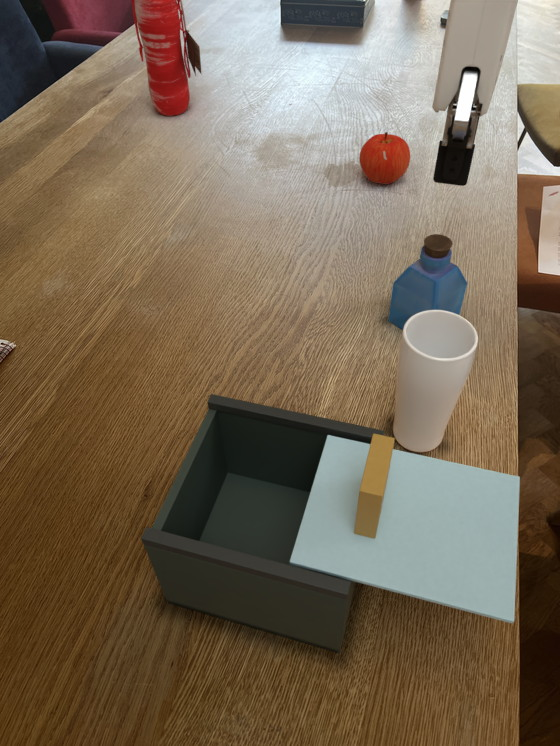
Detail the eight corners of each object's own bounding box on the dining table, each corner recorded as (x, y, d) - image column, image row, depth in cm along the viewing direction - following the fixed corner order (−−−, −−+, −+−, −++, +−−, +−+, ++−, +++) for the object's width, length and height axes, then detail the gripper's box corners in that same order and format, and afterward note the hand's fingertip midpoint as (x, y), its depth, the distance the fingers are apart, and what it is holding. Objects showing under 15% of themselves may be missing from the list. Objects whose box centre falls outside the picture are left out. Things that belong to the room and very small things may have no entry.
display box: (372, 504, 60) (384, 430, 51) (340, 653, 51) (347, 594, 42) (223, 468, 63) (210, 393, 55) (167, 603, 54) (140, 538, 45)
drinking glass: (379, 451, 64) (395, 351, 53) (392, 404, 69) (409, 302, 58) (444, 467, 63) (474, 368, 52) (453, 418, 67) (483, 316, 56)
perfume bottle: (426, 345, 75) (443, 266, 66) (388, 320, 78) (398, 242, 69) (457, 321, 77) (477, 242, 69) (419, 298, 81) (433, 220, 72)
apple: (405, 193, 98) (412, 145, 92) (355, 189, 99) (358, 142, 93) (408, 168, 103) (415, 121, 97) (360, 164, 104) (364, 118, 99)
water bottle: (214, 102, 123) (198, -45, 104) (205, 120, 117) (187, -32, 99) (155, 100, 124) (130, -46, 105) (144, 118, 119) (115, -32, 100)
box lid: (518, 479, 49) (541, 430, 44) (512, 624, 41) (540, 583, 36) (327, 437, 52) (329, 387, 47) (289, 564, 44) (287, 520, 40)
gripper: (456, -73, 55) (427, 120, 68) (433, -14, 44) (403, 204, 57) (544, -70, 53) (496, 128, 67) (542, -8, 42) (486, 215, 55)
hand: (453, 161), depth 62 cm, fingers open, 7 cm apart
